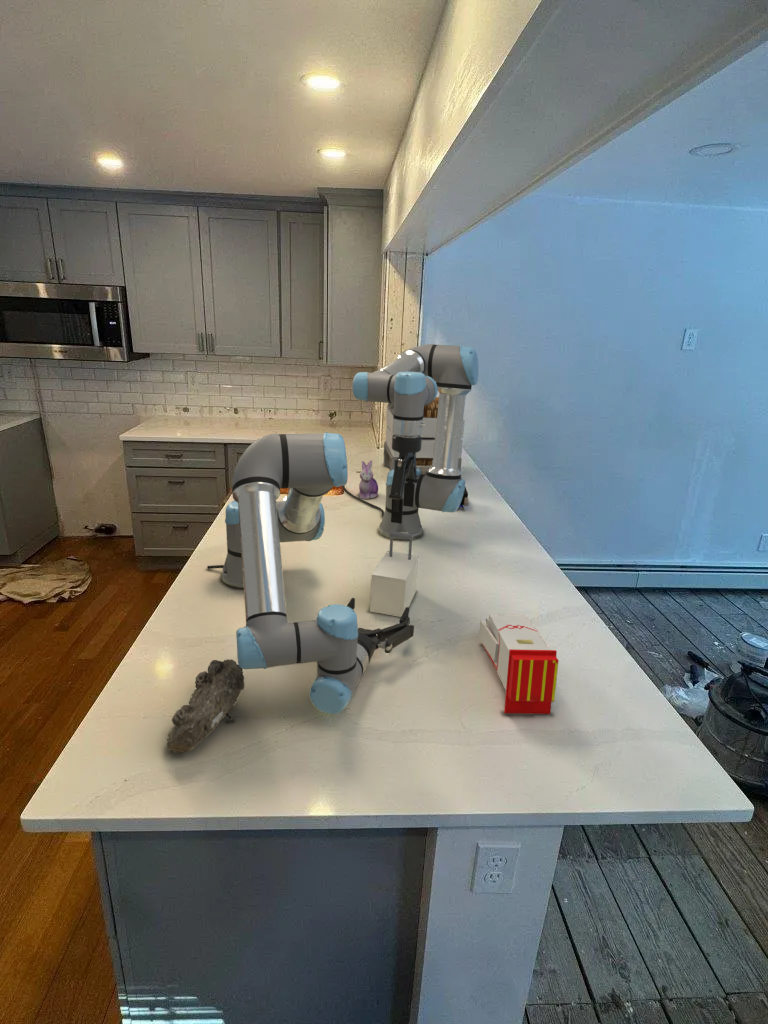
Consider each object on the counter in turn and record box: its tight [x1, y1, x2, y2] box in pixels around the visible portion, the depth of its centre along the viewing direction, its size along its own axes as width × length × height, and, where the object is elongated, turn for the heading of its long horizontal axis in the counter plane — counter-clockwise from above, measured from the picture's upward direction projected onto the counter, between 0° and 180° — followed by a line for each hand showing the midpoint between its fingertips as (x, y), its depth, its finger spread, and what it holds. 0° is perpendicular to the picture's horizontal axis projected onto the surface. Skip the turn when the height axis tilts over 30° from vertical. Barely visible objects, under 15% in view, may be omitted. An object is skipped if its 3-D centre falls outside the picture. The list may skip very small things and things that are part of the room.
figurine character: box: [459, 486, 470, 511], centre depth 230 cm, size 7×8×15 cm
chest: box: [369, 559, 419, 618], centre depth 152 cm, size 15×9×10 cm, turn 165°
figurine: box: [358, 460, 379, 500], centre depth 236 cm, size 9×10×15 cm
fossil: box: [166, 658, 245, 754], centre depth 106 cm, size 22×10×15 cm
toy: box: [477, 613, 560, 715], centre depth 124 cm, size 12×13×30 cm
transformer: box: [383, 396, 465, 473], centre depth 268 cm, size 34×33×41 cm
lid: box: [370, 531, 420, 583], centre depth 150 cm, size 16×9×8 cm, turn 165°
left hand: (380, 607), depth 138 cm, fingers open, 13 cm apart
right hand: (402, 514), depth 150 cm, fingers open, 13 cm apart
